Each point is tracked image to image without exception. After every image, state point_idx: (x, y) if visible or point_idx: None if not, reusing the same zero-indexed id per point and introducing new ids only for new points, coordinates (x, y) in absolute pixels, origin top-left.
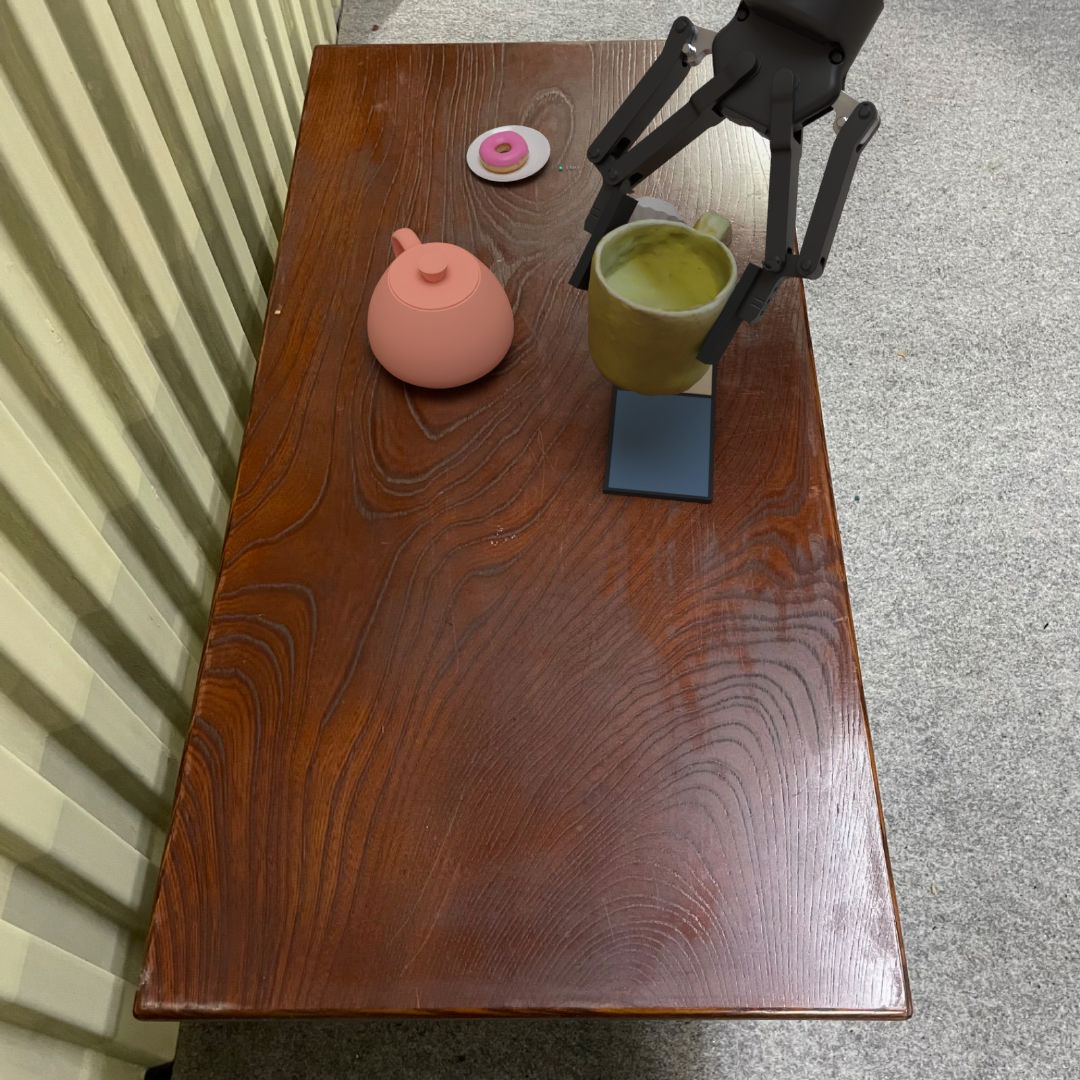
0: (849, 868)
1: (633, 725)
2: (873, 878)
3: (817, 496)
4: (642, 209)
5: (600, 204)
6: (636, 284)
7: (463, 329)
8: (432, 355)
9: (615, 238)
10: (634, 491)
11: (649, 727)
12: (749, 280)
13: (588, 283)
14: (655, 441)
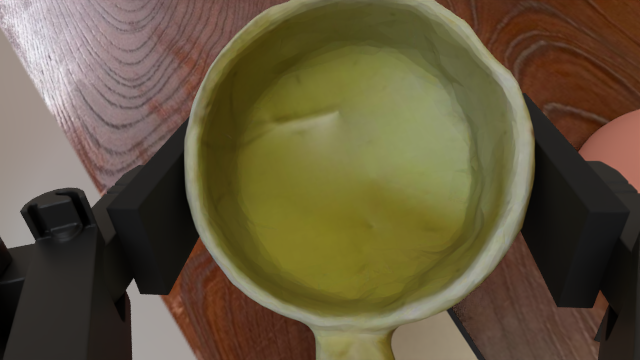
0: (29, 29)
1: (206, 11)
2: (13, 34)
3: (172, 302)
4: None
5: (624, 200)
6: (410, 165)
7: (636, 157)
8: (634, 119)
9: (509, 157)
10: None
11: (195, 17)
12: (133, 186)
13: None
14: None
